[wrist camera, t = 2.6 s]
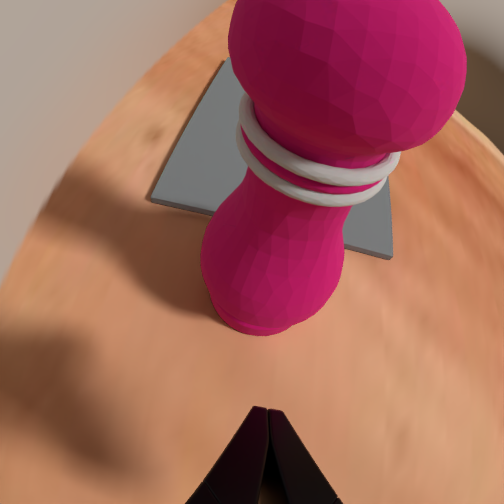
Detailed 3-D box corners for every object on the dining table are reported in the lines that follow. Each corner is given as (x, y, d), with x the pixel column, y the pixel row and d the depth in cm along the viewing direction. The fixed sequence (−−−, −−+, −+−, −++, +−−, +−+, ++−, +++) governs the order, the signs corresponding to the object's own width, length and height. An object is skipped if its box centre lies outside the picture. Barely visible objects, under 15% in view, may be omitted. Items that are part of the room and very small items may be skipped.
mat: (389, 260, 23) (393, 256, 22) (151, 202, 22) (150, 197, 22) (374, 99, 33) (376, 95, 33) (227, 61, 33) (227, 57, 33)
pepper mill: (208, 233, 22) (236, -112, 4) (312, 244, 22) (455, -48, 5) (195, 339, 18) (174, -152, 1) (315, 347, 19) (612, 54, 2)
